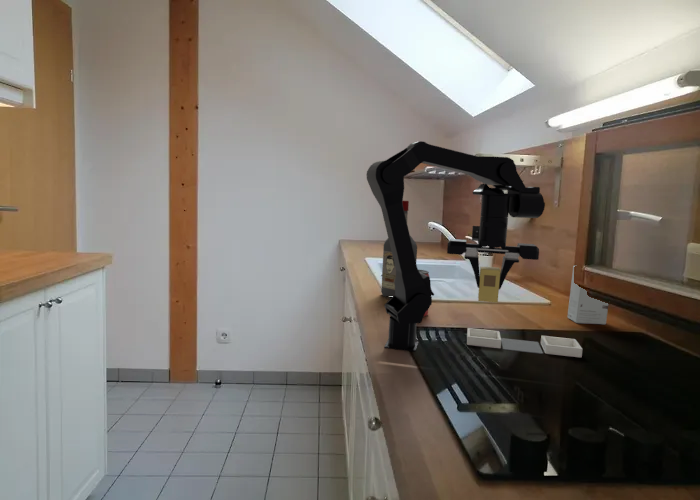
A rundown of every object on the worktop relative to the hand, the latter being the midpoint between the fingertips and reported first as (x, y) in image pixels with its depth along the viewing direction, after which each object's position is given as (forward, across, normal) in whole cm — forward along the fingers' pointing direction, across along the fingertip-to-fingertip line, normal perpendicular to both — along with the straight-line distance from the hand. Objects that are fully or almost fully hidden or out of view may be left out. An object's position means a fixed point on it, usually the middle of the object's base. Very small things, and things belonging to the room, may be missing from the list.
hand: (488, 288), depth 106 cm
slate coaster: (+12, -8, 0) cm, 15 cm away
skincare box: (+13, -28, -31) cm, 43 cm away
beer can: (+13, +17, -19) cm, 29 cm away
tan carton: (+3, 0, 0) cm, 3 cm away
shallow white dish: (+12, 0, 0) cm, 13 cm away
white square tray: (+12, -16, 0) cm, 20 cm away
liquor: (+13, +25, -41) cm, 50 cm away
